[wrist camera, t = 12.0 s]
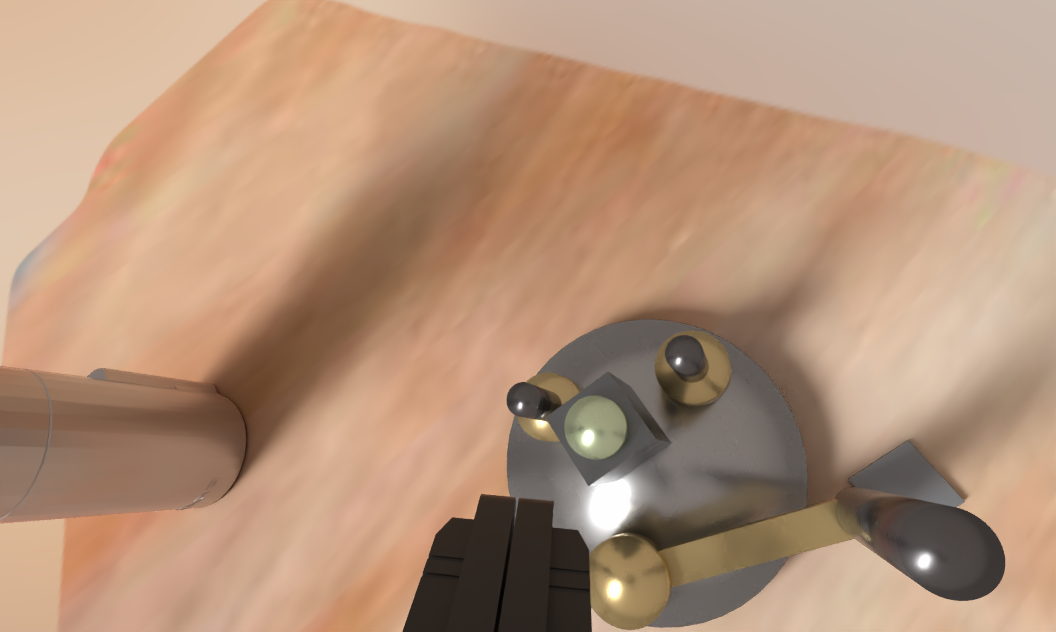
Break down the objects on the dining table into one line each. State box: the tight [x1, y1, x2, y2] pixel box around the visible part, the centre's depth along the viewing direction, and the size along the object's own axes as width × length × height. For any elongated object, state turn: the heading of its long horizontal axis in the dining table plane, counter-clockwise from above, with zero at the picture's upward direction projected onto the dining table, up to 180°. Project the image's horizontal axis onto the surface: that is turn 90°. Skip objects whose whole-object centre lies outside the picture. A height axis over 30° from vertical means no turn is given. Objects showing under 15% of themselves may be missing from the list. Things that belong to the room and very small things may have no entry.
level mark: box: [849, 440, 965, 507], centre depth 29 cm, size 4×4×1 cm
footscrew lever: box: [589, 487, 1005, 630], centre depth 23 cm, size 15×4×14 cm, turn 108°
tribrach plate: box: [507, 319, 808, 628], centre depth 30 cm, size 17×17×9 cm
